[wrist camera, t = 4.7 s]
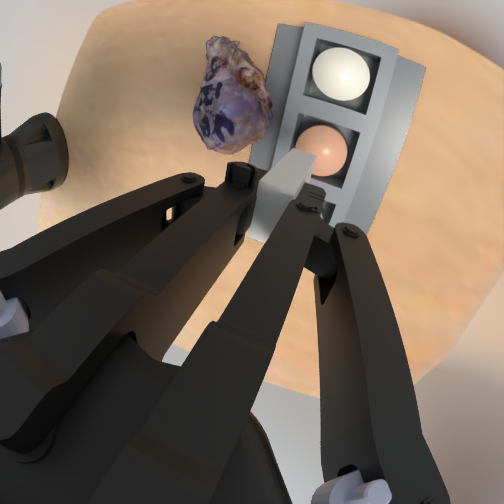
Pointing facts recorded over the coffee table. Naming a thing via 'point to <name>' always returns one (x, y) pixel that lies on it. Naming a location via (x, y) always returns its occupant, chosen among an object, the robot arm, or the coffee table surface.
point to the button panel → (341, 116)
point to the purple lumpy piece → (231, 99)
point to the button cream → (341, 74)
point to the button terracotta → (324, 148)
